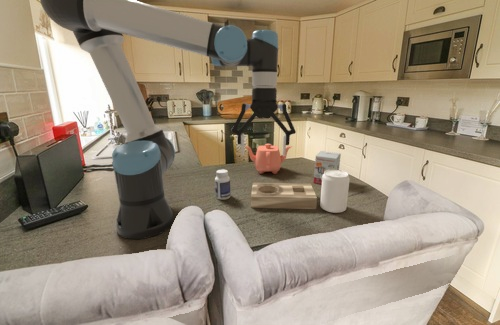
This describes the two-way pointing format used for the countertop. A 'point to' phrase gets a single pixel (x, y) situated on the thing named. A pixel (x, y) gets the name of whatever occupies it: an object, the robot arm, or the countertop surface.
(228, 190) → the pill bottle
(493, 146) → the countertop surface
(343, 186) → the beverage can
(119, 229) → the robot arm
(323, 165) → the ink box
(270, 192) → the socket block
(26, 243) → the countertop surface
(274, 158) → the teapot
